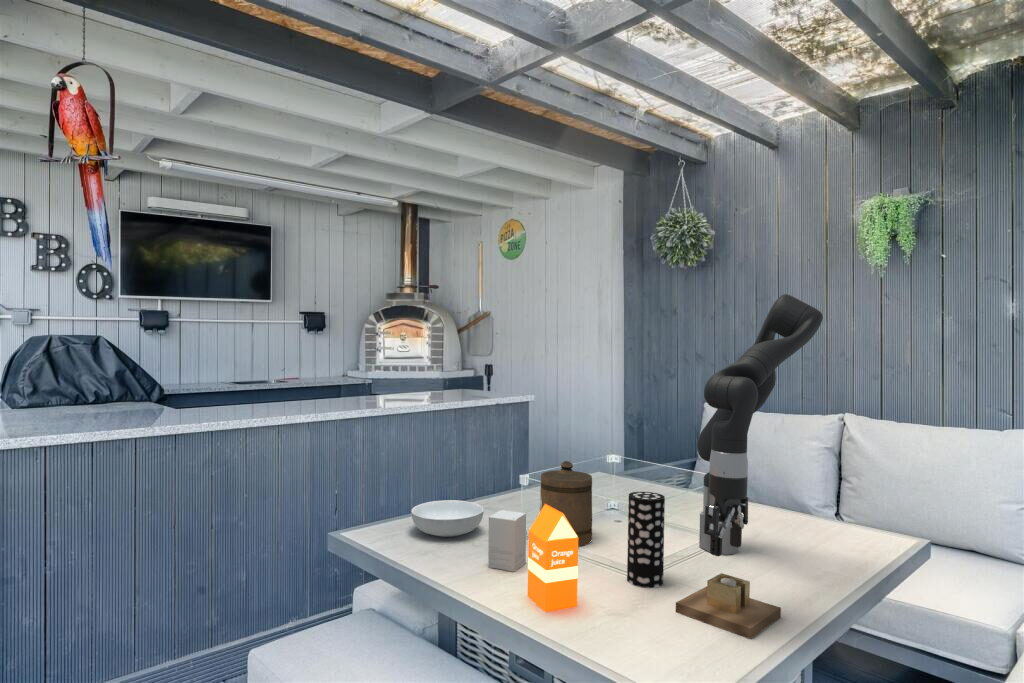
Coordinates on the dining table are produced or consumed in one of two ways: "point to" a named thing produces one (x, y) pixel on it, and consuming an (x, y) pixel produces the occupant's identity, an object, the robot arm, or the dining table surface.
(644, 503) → the spotted tube
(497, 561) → the supplement box
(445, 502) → the serving bowl
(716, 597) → the slotted square frame
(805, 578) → the dining table surface
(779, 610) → the shaft stand
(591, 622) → the dining table surface
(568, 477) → the wooden container
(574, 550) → the orange juice
